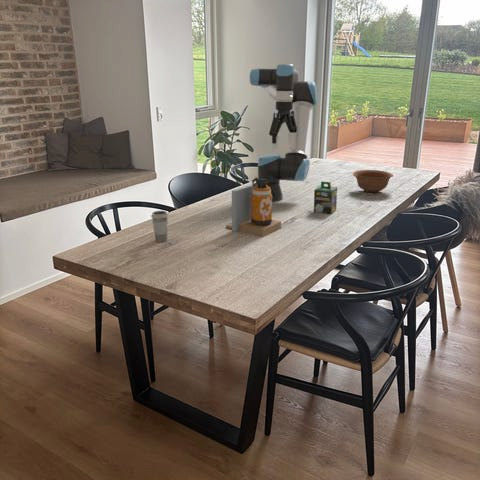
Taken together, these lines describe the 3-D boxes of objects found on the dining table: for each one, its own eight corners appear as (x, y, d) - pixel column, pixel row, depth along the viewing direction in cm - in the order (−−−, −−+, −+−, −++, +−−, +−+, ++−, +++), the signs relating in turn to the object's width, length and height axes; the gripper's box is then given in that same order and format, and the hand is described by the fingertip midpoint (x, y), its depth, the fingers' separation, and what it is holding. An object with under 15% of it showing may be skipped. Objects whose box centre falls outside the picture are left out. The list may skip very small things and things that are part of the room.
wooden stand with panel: (223, 228, 215) (222, 188, 209) (254, 216, 233) (254, 179, 227) (260, 237, 204) (261, 195, 198) (290, 223, 222) (291, 184, 216)
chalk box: (336, 209, 244) (338, 180, 239) (331, 214, 236) (333, 184, 231) (318, 207, 248) (320, 178, 243) (312, 212, 240) (314, 182, 235)
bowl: (348, 195, 271) (349, 175, 267) (355, 186, 290) (356, 168, 286) (389, 198, 263) (391, 178, 259) (393, 189, 282) (395, 170, 278)
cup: (161, 244, 197) (160, 216, 193) (149, 241, 200) (147, 213, 196) (173, 239, 202) (171, 211, 198) (160, 236, 206) (159, 209, 202)
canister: (257, 227, 207) (257, 181, 201) (245, 220, 217) (245, 176, 210) (275, 224, 211) (276, 178, 205) (262, 217, 221) (263, 173, 214)
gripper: (276, 102, 207) (275, 153, 214) (305, 99, 225) (303, 145, 233) (261, 102, 211) (261, 151, 218) (291, 98, 230) (290, 144, 237)
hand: (283, 148), depth 225 cm, fingers open, 13 cm apart
